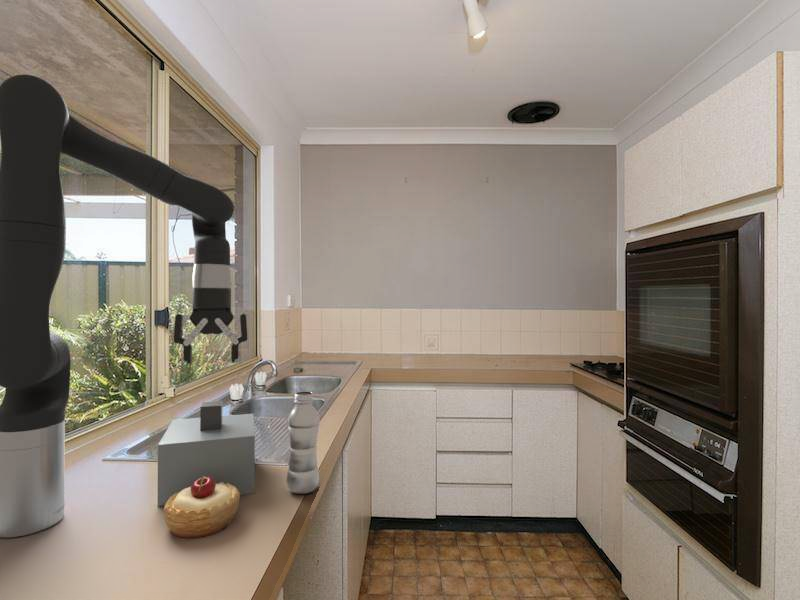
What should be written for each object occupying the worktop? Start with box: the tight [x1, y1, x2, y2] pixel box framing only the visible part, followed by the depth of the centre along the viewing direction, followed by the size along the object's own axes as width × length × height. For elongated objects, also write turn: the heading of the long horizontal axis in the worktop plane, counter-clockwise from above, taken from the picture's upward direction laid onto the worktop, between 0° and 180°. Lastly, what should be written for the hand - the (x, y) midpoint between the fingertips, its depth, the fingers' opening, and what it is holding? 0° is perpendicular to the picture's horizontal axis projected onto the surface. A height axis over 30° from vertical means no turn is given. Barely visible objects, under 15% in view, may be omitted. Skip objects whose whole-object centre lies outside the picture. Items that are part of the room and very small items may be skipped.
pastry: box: [163, 476, 241, 539], centre depth 74 cm, size 12×12×9 cm
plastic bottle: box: [286, 390, 321, 495], centre depth 87 cm, size 6×7×20 cm
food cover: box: [157, 400, 256, 507], centre depth 91 cm, size 17×17×17 cm
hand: (211, 362), depth 91 cm, fingers open, 8 cm apart
